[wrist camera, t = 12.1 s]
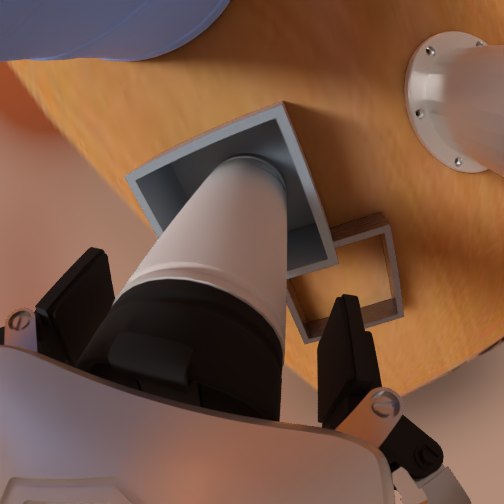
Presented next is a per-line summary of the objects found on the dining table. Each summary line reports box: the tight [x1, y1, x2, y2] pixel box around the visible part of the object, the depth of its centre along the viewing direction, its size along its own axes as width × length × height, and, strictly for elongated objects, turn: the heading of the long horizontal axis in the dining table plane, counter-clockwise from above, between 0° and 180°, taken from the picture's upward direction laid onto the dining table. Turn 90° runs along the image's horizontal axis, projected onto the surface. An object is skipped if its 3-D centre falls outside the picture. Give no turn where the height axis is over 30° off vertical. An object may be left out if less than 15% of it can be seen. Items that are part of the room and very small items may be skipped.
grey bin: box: [124, 101, 339, 279], centre depth 22 cm, size 11×11×7 cm
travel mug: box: [75, 153, 287, 422], centre depth 16 cm, size 6×7×20 cm
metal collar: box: [286, 212, 404, 344], centre depth 28 cm, size 11×11×2 cm
